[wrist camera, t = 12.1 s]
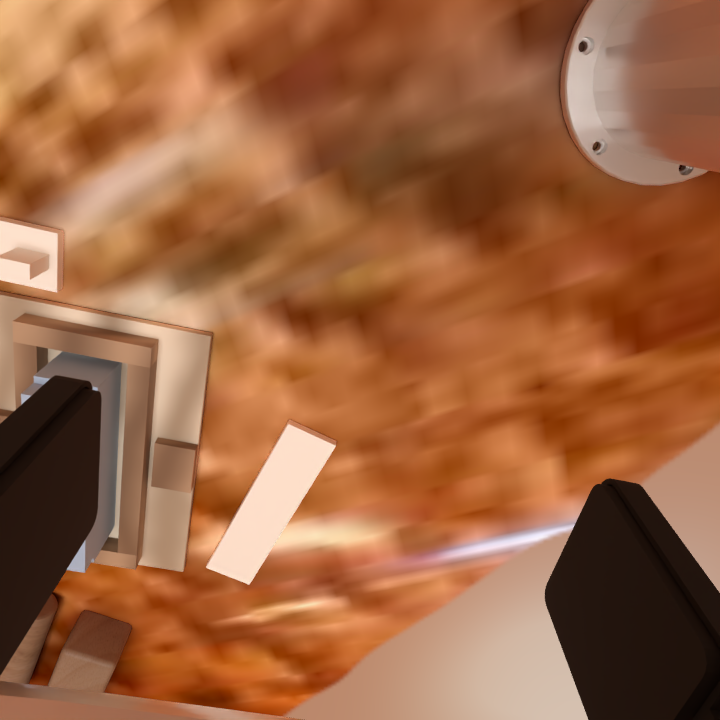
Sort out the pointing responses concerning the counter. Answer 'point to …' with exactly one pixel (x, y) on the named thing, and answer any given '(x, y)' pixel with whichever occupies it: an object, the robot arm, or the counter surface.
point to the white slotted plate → (31, 254)
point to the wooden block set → (72, 651)
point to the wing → (271, 501)
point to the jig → (125, 413)
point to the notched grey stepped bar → (108, 384)
